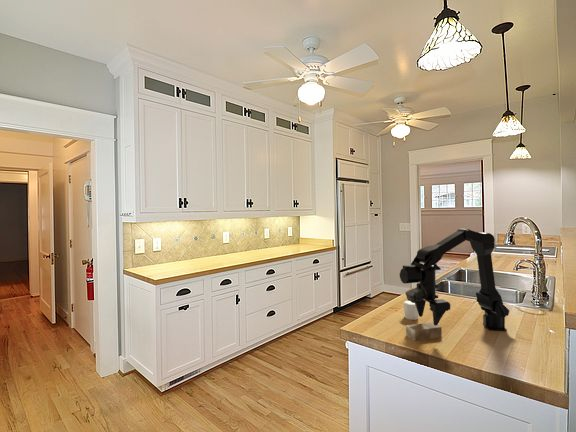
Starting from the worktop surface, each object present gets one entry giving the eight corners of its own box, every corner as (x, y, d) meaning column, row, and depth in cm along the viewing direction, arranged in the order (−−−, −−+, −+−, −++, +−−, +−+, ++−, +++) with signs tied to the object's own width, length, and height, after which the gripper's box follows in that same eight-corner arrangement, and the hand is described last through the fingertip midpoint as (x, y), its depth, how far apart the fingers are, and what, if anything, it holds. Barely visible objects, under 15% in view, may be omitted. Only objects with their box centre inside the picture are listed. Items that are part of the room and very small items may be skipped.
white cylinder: (421, 320, 135) (420, 305, 135) (404, 319, 136) (404, 304, 136) (417, 315, 142) (417, 300, 142) (402, 314, 143) (401, 299, 143)
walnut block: (433, 322, 123) (405, 325, 121) (441, 327, 118) (413, 330, 116) (433, 332, 123) (406, 335, 121) (441, 337, 118) (413, 340, 116)
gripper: (395, 277, 127) (396, 314, 127) (423, 289, 108) (424, 332, 109) (420, 275, 129) (420, 311, 129) (451, 287, 110) (451, 329, 111)
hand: (427, 320), depth 120 cm, fingers open, 9 cm apart
